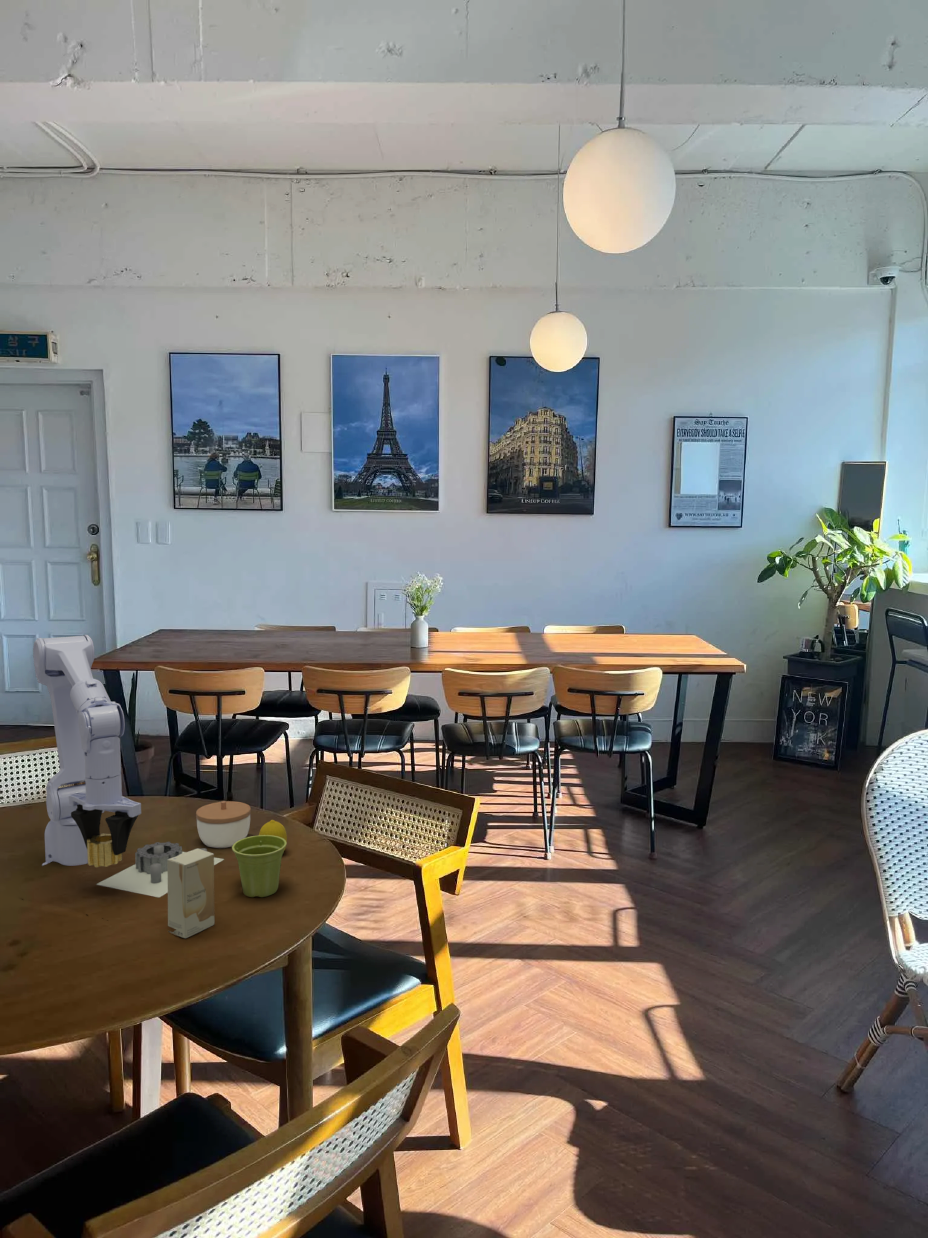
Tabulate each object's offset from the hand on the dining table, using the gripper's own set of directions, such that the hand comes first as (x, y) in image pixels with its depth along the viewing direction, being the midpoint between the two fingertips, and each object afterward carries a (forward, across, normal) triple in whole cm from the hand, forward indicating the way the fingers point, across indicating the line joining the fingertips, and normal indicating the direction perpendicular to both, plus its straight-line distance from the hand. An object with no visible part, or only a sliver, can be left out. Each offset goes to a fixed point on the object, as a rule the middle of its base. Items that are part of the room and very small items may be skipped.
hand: (106, 850), depth 146 cm
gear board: (+8, +3, +10) cm, 14 cm away
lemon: (+9, +17, +25) cm, 32 cm away
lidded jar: (+9, +4, +27) cm, 29 cm away
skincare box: (+9, +21, -4) cm, 23 cm away
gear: (+7, +1, +12) cm, 14 cm away
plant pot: (+9, +23, +12) cm, 28 cm away
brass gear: (+2, 0, 0) cm, 2 cm away
